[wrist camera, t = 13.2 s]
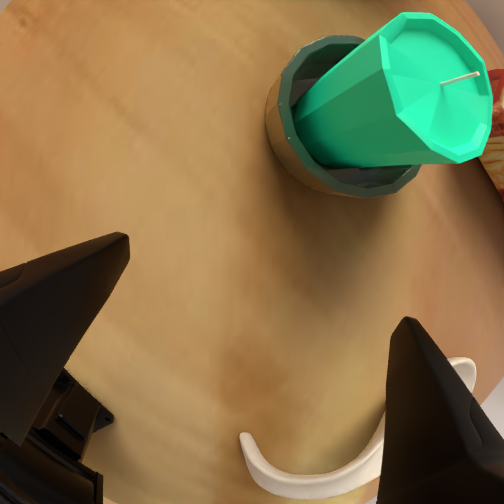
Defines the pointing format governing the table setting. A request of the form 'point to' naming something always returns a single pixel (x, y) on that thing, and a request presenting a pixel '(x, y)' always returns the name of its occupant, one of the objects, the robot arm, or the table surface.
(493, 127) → the snack package
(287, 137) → the bowl
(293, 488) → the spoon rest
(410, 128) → the candle
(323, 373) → the table surface
